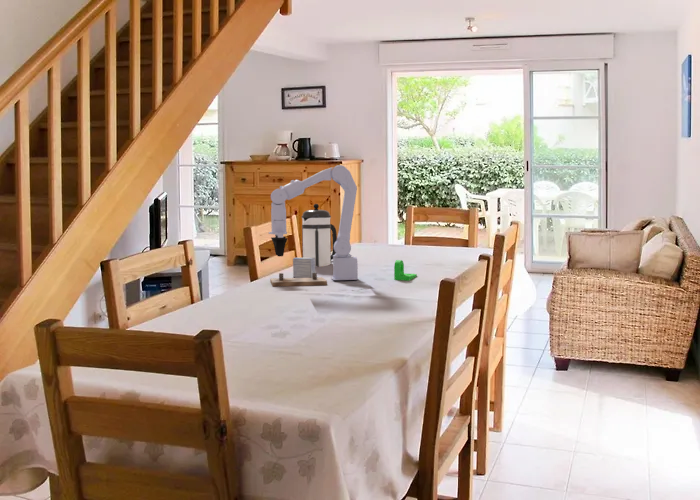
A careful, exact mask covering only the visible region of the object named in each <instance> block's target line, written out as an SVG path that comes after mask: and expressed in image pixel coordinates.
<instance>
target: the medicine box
mask: <svg viewBox="0 0 700 500" xmlns="http://www.w3.org/2000/svg"><path fill="white" fill-rule="evenodd" d="M313 273H316V266H315V258H302V257H293V259H292V274H293V275H292V276H293V277H292V278H294V277H295V278H313Z"/></svg>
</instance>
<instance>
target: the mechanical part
mask: <svg viewBox="0 0 700 500" xmlns="http://www.w3.org/2000/svg"><path fill="white" fill-rule="evenodd" d="M404 266H405V264H404V261H403V260H402V259H397V260H395V262H394V267H393V268H394V269H393V272H394V274H393V277H394V278H393V279H394V280H395V281H411V280H413V279H414V278H417V276H418V275H417V273H405V268H404Z"/></svg>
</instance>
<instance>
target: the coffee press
mask: <svg viewBox="0 0 700 500" xmlns="http://www.w3.org/2000/svg"><path fill="white" fill-rule="evenodd" d="M319 208H320V206H319V204H318V203H314V204H313V209H307V210H305V211H303V212H302V215H301V219H302V224H301V230H302V235H301V237H302V240H301V243H302V244H301V245H302V246H301V248H302V249H301V250H302V254H301V255H302V257H301V258H315V267H316V266H319V267H326V266H330V265H332V261H333V255H335V253H336V252H335V251H334V243H335V242H336V240H337V237H338V233H337V229H336V227H335V225H334V224H331V218H332V215H331V214H330V212H329V211H328V210H325V209H319ZM331 236H332V237H331ZM331 247H332V251H331Z"/></svg>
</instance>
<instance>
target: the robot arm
mask: <svg viewBox="0 0 700 500" xmlns="http://www.w3.org/2000/svg"><path fill="white" fill-rule="evenodd" d="M332 180H333V181H334V183H336V184H338V185H339V186H340V187H341V189H342V190H343V191H344V192H343V202H342V206H341V215H340V219H339V220H340V221H339V228H338V233H337V240H336V242H335V243H334V251H335V252H336V253H335V255H333V259H332V272H333V273H332V277H330V279H331V280H333V281H353V280H354V281H355V280H356V281H357V280H359V277H358V276H359V275H358V274H359V273H358V269H359V268H358V267H359V266H358V265H359V264H358V257H357V256H353V255H352V254H351V251H352V246H351V244H350V243H351V242H350V240H351V230H352V225H353V224H352V223H353V216H354V212H355V204H356V197H357V190H358V187H357V184H356V181H355V180H354V178H353V175H352V173H351V171H350V170H349V169H348V168H347V167H346V166H344V165H341V164H338V165H335V166H334V167H329V168H326V169H323V170H321V171H319V172H317V173H315V174H313V175H311V176H309V177H307V178H305V179H303V180H299V179H295V180H294V179H292V180H290V182H289V183H287V184H285V185H280V186H279V188H275V189H274V190H273V191H272V192H270V193H271V194H270V201H272V202H271V204H270V205H271V209H270V215H271V217H270V219H271V220H270V221H271V222H270V223H271V226H270V227H271V231H269V232H268V235H275V236H274V237H270V239H271V241H272V243H273V247H274V248H273V249H274V253H275V255H276V256H277V257H284V254H285V248H286V244H287V241H288V239H289V238H287V236H284V235H287V234H288V231H287V208H286V201H287V200H288V201H290V200H292V199H294V198H296V197H298V196H300V195H303V194H304V192H305V190H306V189H307V188H309V187H311V186H314V185H315V184H319V183H320V182H322V181H332Z"/></svg>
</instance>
